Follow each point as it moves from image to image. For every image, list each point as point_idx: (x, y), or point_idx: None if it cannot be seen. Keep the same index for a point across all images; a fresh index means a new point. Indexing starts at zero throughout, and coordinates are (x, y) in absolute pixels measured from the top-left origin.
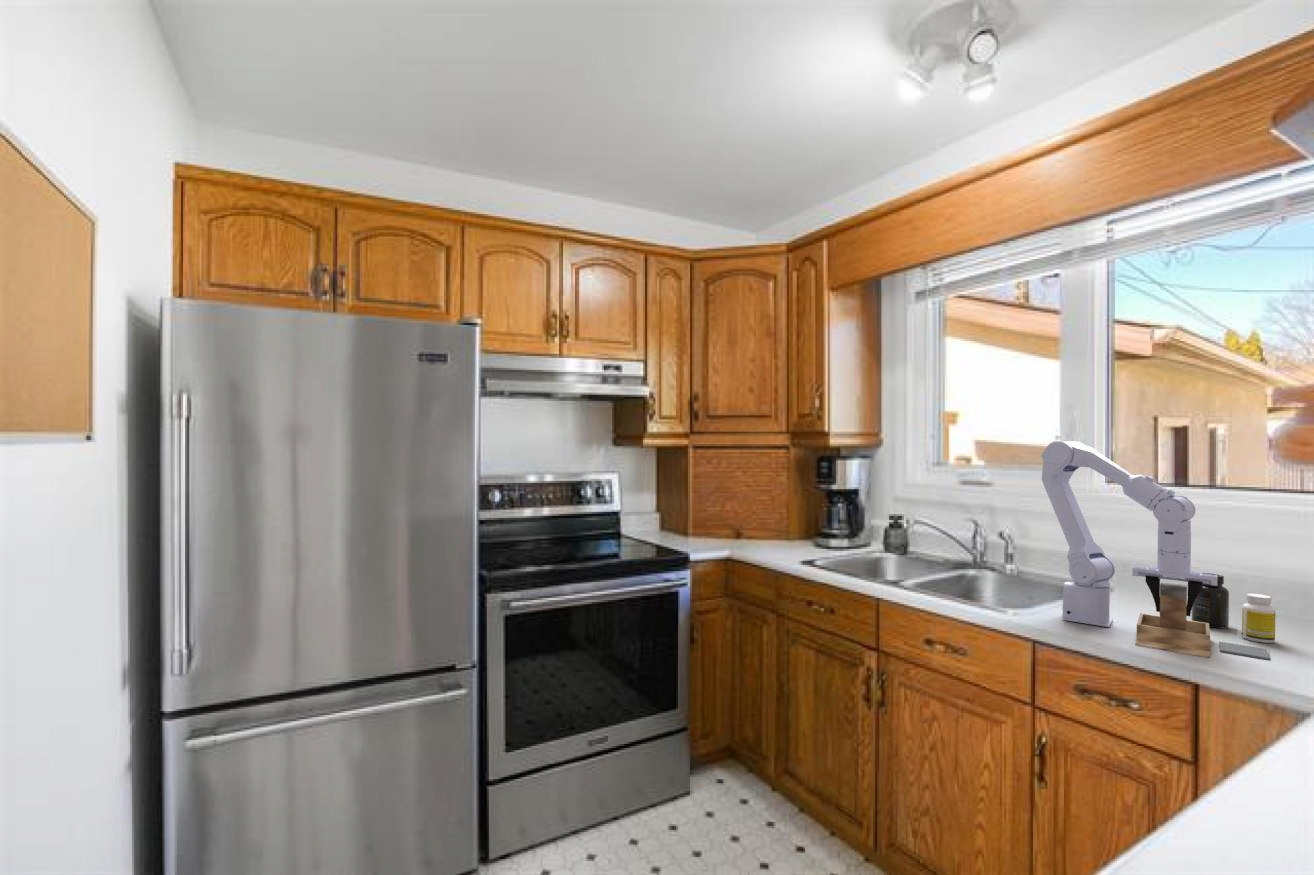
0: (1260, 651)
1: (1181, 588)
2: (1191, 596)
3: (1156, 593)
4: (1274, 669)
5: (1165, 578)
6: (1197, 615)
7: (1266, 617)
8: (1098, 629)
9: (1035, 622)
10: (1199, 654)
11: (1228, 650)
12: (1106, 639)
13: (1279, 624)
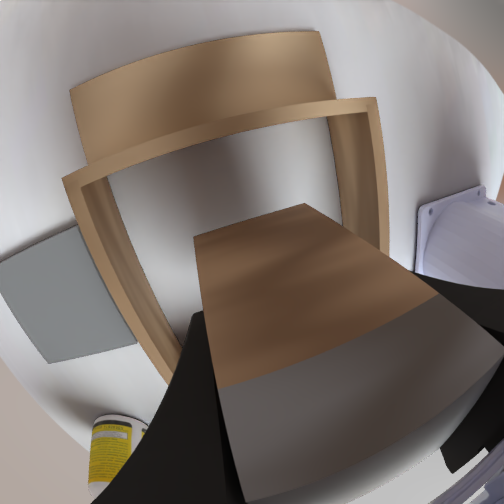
0: (33, 325)
1: (314, 478)
2: (181, 430)
3: (456, 299)
4: None
5: (476, 474)
6: None
7: (92, 472)
8: (431, 162)
9: (498, 115)
10: (101, 75)
11: (61, 247)
12: (390, 46)
13: None
